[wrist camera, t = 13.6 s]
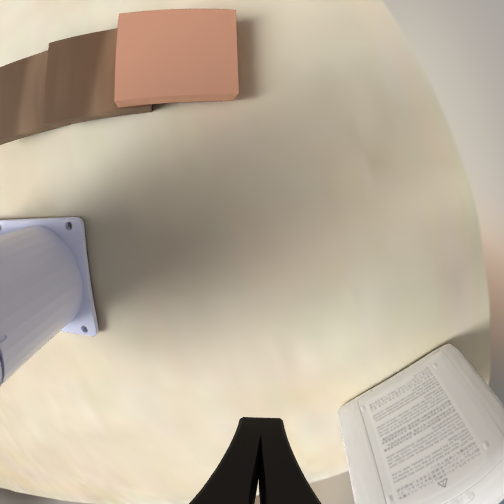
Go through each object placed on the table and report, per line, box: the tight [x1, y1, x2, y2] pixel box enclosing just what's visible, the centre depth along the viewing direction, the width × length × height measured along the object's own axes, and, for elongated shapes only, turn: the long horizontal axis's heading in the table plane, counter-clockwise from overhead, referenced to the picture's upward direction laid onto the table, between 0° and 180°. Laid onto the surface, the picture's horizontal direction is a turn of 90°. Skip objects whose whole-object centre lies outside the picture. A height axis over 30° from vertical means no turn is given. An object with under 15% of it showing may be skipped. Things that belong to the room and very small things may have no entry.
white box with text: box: [338, 344, 504, 504], centre depth 14 cm, size 10×4×12 cm, turn 125°
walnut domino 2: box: [44, 29, 152, 127], centre depth 14 cm, size 2×5×6 cm
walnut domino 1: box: [0, 51, 71, 145], centre depth 14 cm, size 2×5×6 cm
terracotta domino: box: [114, 9, 239, 108], centre depth 14 cm, size 2×5×6 cm
